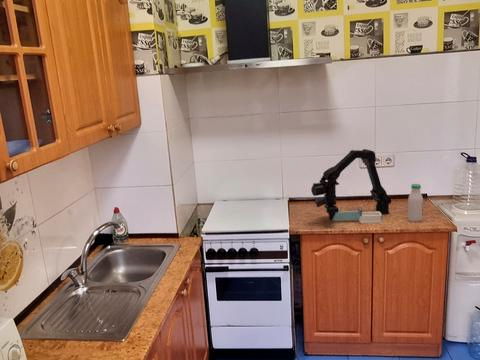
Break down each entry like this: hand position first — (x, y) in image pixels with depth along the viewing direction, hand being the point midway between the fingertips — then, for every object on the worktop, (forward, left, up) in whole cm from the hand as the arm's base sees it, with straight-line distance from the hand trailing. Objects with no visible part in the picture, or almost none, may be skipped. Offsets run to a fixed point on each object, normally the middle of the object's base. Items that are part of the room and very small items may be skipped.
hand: (330, 219), depth 237 cm
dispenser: (-21, 0, -1) cm, 21 cm away
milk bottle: (-45, +1, -2) cm, 45 cm away
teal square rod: (-7, 0, 0) cm, 7 cm away
